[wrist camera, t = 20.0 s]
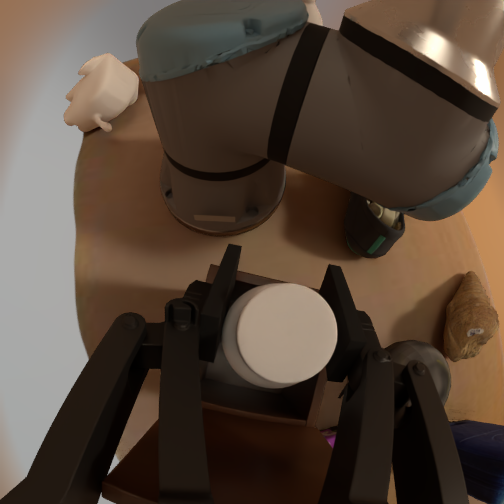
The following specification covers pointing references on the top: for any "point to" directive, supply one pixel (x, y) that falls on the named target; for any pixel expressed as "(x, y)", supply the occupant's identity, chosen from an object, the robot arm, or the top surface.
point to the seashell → (469, 320)
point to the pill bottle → (279, 335)
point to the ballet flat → (371, 227)
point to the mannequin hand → (101, 93)
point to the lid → (234, 463)
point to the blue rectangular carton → (481, 458)
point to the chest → (252, 396)
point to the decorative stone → (429, 357)
